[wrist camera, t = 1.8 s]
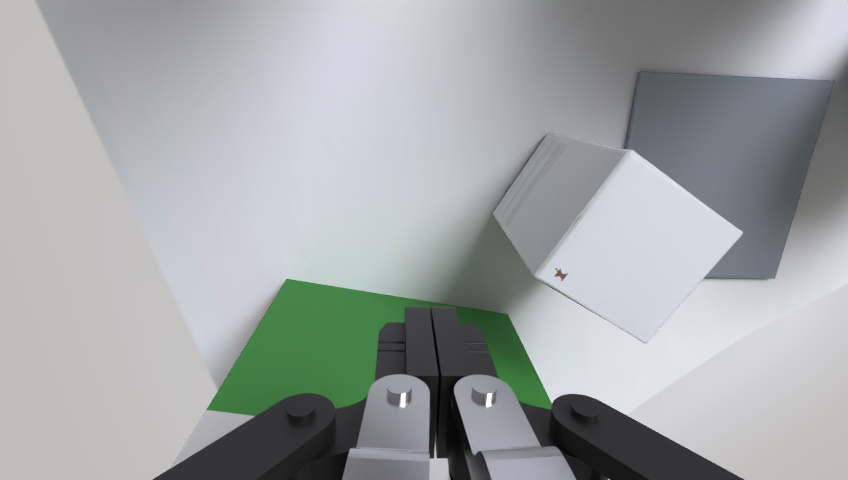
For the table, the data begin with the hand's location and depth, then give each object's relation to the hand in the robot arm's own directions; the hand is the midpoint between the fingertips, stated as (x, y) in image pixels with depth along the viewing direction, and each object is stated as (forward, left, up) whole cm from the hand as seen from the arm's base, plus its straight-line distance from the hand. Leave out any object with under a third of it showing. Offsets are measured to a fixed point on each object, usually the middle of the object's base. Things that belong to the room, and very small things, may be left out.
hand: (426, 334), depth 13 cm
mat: (-2, +22, -20) cm, 30 cm away
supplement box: (0, +11, -20) cm, 23 cm away
